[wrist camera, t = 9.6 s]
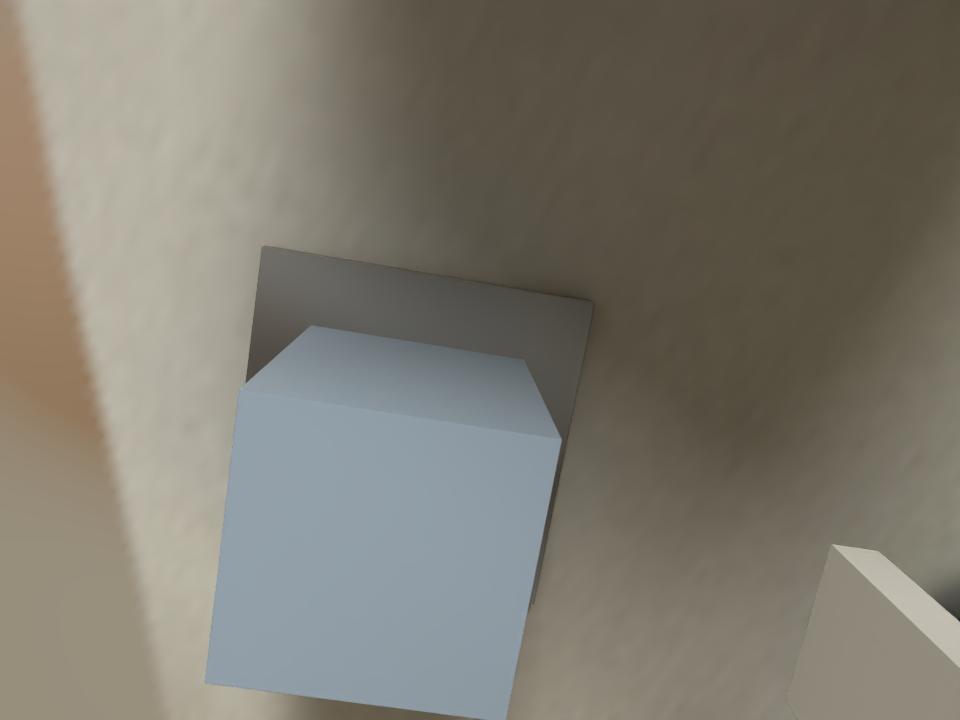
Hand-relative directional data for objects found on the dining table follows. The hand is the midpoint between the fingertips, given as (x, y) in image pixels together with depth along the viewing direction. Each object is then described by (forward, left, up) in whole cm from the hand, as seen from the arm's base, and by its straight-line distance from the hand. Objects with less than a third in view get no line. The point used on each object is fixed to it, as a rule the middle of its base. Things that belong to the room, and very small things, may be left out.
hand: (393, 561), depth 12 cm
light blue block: (+1, 0, -8) cm, 8 cm away
